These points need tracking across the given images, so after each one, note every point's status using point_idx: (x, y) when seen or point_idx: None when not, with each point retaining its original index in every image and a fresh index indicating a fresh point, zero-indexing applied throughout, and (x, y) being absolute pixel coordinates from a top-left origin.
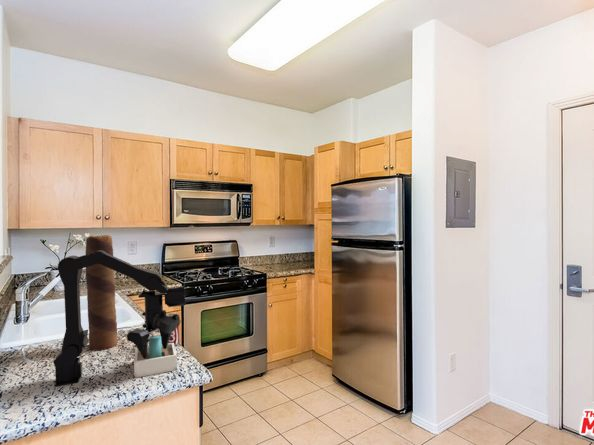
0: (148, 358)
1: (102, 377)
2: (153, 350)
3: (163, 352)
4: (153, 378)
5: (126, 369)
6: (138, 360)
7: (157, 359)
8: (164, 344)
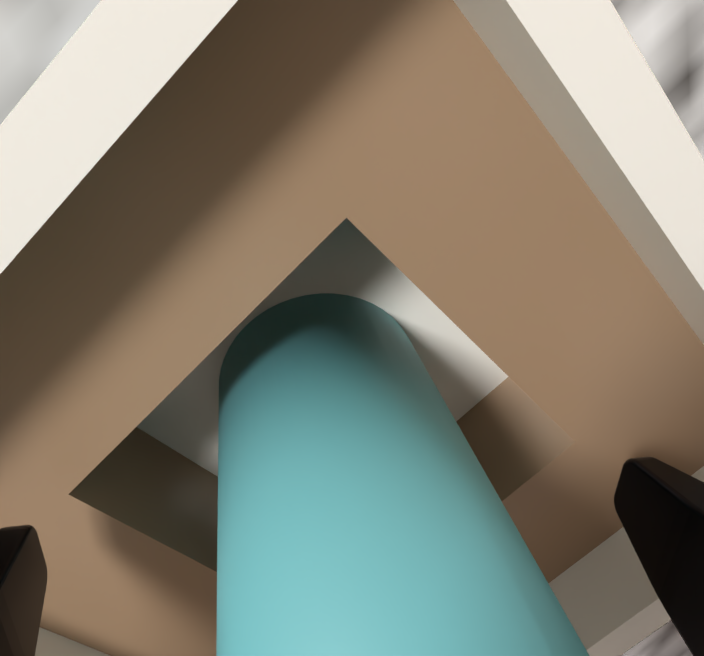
0: None
1: None
2: (520, 537)
3: (87, 491)
4: (699, 52)
5: None
6: (571, 552)
7: (696, 181)
8: (4, 644)
